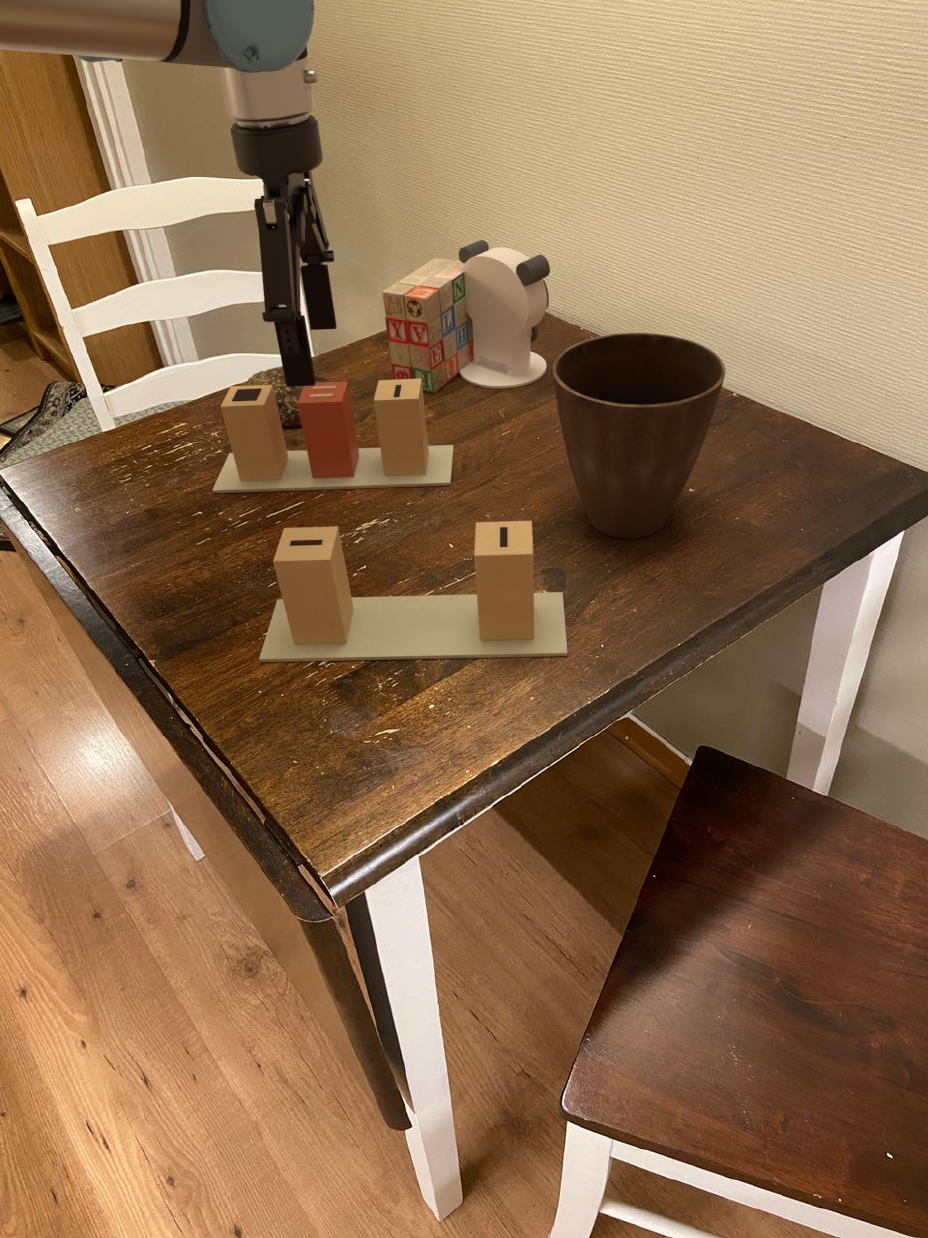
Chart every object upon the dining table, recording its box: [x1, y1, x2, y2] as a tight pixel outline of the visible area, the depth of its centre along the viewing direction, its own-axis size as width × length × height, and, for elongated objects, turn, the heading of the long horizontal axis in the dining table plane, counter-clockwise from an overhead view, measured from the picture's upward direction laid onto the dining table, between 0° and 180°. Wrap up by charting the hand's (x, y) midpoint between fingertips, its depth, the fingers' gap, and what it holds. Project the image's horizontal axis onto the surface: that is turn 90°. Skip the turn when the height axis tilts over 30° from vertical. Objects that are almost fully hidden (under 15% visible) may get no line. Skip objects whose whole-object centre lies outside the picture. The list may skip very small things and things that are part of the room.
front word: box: [258, 520, 569, 663], centre depth 74 cm, size 26×8×10 cm, turn 88°
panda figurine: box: [458, 239, 551, 390], centre depth 110 cm, size 12×11×15 cm
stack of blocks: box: [382, 257, 474, 394], centre depth 115 cm, size 21×6×12 cm, turn 150°
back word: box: [211, 379, 455, 494], centre depth 95 cm, size 26×8×10 cm, turn 88°
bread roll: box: [239, 365, 333, 428], centre depth 109 cm, size 13×12×5 cm
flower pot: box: [552, 332, 727, 540], centre depth 83 cm, size 15×15×16 cm
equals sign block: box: [298, 381, 359, 478], centre depth 95 cm, size 5×5×9 cm
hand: (313, 355), depth 89 cm, fingers open, 13 cm apart
